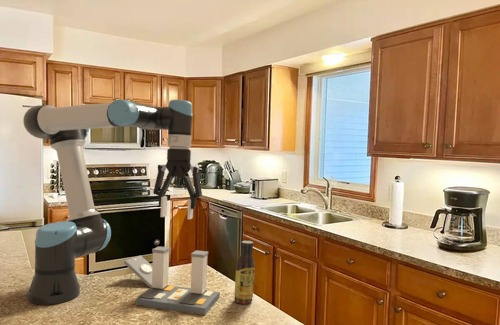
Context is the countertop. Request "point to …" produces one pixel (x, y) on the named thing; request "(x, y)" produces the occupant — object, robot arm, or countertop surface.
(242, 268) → the sauce bottle
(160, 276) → the slider
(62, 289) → the robot arm
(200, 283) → the slider
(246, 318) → the countertop surface
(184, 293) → the console
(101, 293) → the countertop surface
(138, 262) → the gray dial box
